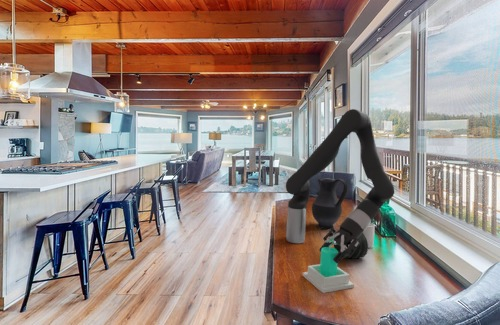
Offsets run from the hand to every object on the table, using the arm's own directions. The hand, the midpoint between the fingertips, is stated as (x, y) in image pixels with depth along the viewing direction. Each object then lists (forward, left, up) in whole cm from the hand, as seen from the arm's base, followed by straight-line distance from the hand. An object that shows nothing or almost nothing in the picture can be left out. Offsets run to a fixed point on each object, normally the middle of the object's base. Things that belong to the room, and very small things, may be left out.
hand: (327, 256), depth 105 cm
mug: (-27, +41, -10) cm, 50 cm away
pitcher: (-55, +40, -9) cm, 69 cm away
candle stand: (0, 0, -9) cm, 9 cm away
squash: (-17, +24, -10) cm, 31 cm away
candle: (0, +1, -8) cm, 8 cm away
